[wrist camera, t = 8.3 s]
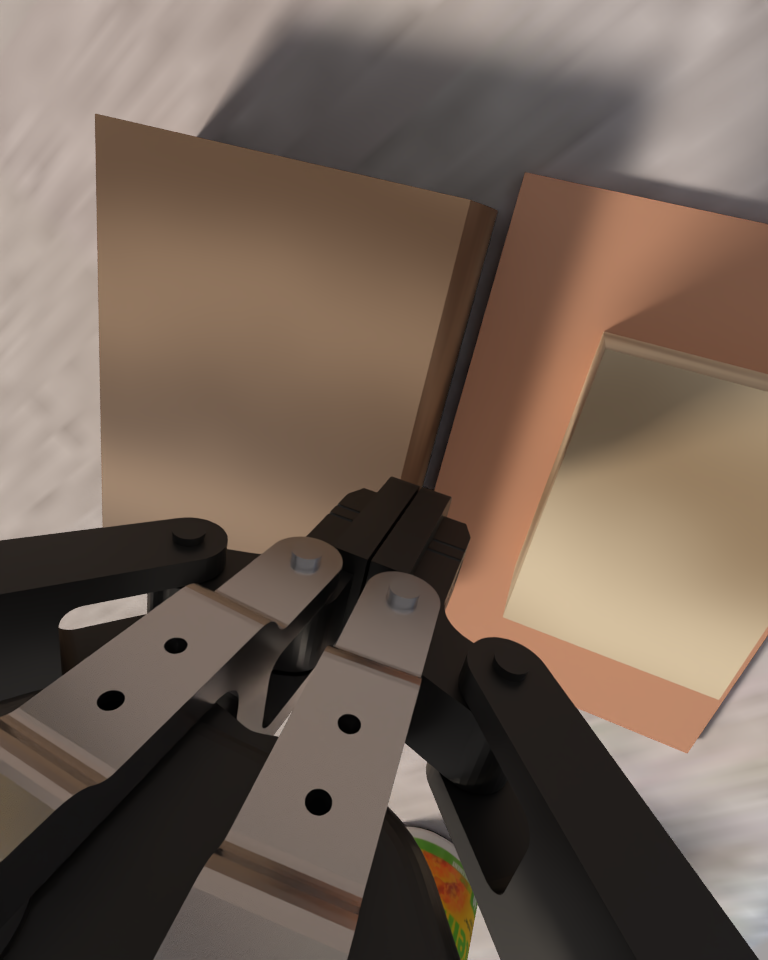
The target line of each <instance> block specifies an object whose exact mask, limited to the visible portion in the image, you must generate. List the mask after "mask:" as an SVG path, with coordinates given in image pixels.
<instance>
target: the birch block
mask: <svg viewBox="0 0 768 960" xmlns="http://www.w3.org/2000/svg"><path fill="white" fill-rule="evenodd" d="M503 617H504V618H506V619H509V620H511V621H514V622H517V623H519V624H522V625H524V626H527V627H530V628H532V629H535V630H537V631H540V632H543V633H545V634H548V635H551V636H553V637H556V638H558V639H561V640H564V641H566V642H569V643H571V644H574V645H577V646H579V647H582V648H584V649H587V650H590V651H592V652H595V653H597V654H600V655H603V656H605V657H608V658H611V659H613V660H616V661H618V662H621V663H624V664H626V665H629V666H631V667H634V668H637V669H639V670H642V671H644V672H647V673H650V674H652V675H655V676H658V677H660V678H663V679H665V680H668V681H671V682H673V683H676V684H678V685H681V686H684V687H686V688H689V689H691V690H694V691H697V692H699V693H702V694H704V695H707V696H710V697H712V698H715V699H718V700H719V699H720V698H721V696H722V695H723V693H724V692H725V690H726V689H727V687H728V686H729V684H730V683H731V681H732V680H733V678H734V677H735V675H736V674H737V672H738V671H739V669H740V668H741V666H742V665H743V663H744V662H745V660H746V659H747V657H748V656H749V654H750V652H751V651H752V649H753V648H754V646H755V645H756V643H757V642H758V640H759V639H760V637H761V636H762V634H763V633H764V631H765V630H766V628H767V627H768V374H765V373H761V372H757V371H754V370H750V369H746V368H742V367H738V366H734V365H731V364H727V363H723V362H719V361H715V360H711V359H708V358H704V357H700V356H696V355H692V354H688V353H685V352H681V351H677V350H673V349H669V348H665V347H662V346H658V345H654V344H650V343H646V342H642V341H639V340H635V339H631V338H627V337H623V336H619V335H616V334H612V333H608V332H603V334H602V337H601V340H600V342H599V345H598V348H597V350H596V353H595V356H594V358H593V361H592V364H591V366H590V369H589V372H588V374H587V377H586V379H585V382H584V385H583V387H582V390H581V393H580V395H579V398H578V401H577V403H576V406H575V409H574V411H573V414H572V417H571V419H570V422H569V425H568V427H567V430H566V432H565V435H564V438H563V440H562V443H561V446H560V448H559V451H558V454H557V456H556V459H555V462H554V464H553V467H552V470H551V472H550V475H549V478H548V480H547V483H546V485H545V488H544V491H543V493H542V496H541V499H540V501H539V504H538V507H537V509H536V512H535V515H534V517H533V520H532V523H531V525H530V528H529V530H528V533H527V536H526V538H525V541H524V544H523V546H522V549H521V552H520V554H519V557H518V560H517V562H516V565H515V569H514V573H513V577H512V581H511V585H510V589H509V593H508V597H507V601H506V606H505V610H504V614H503Z"/></svg>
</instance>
